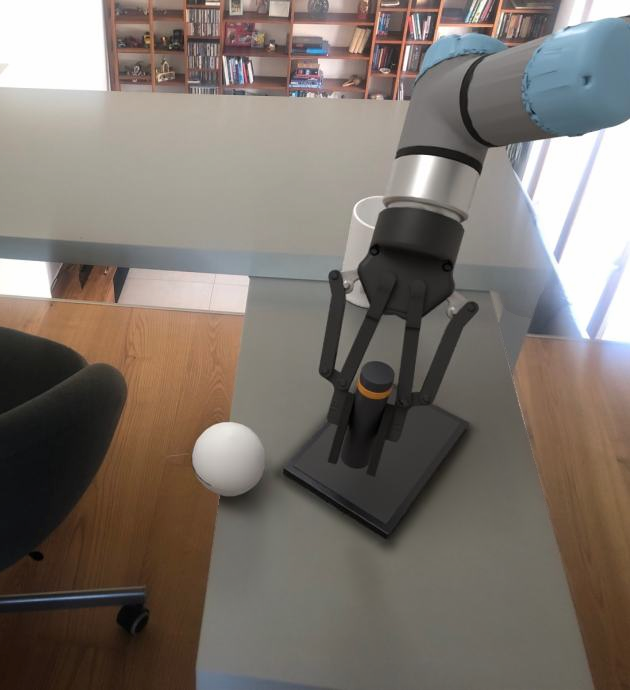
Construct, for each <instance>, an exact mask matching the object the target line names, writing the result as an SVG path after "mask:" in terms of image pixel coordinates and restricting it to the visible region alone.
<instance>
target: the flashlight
mask: <svg viewBox="0 0 630 690" xmlns="http://www.w3.org/2000/svg"><path fill="white" fill-rule="evenodd" d="M395 377H396V373H395V370H394V369H393V367H392V366H391V365H389V364H388V363H386V362H383V361H381V360H380V361H379V360H371V361H367V362H365V363H364V364H363V365H362V367H361V370H360V374H359V376H358V379H357V384H356V388H357V389H356V388H355V389H356V393H355V398H354V402H353V406H352V410H351V414H350V418H349V422H348V426H347V430H346V434H345V438H344V442H343V446H342V450H341V454H340V456H341V459H342V461H343V463H344V464H345V465H347V466H348V467H351V468H354V469H361V468H364V467H366V466H367V465H368V464H369V461H370V458H371V455H372V451H373V448H374V444H375V440H376V437H377V433H378V430H379V427H380V423H381V420H382V417H383V413H384V410H385V406H386V403H387V401H388V398H389V394H390V393H391V390H392V386H393V383H394V381H395Z"/></svg>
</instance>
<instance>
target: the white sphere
mask: <svg viewBox="0 0 630 690" xmlns="http://www.w3.org/2000/svg"><path fill="white" fill-rule="evenodd" d="M189 454H190V453H186V455H189ZM182 455H184V453H181V454H179V456H182ZM176 456H178V454H173V455H172V457H176ZM167 457H170V455H167V456H165V458H167ZM266 463H267V461H266V455H265V448H264V444H263V443H262V441H261V439H260V438H259V436H257V434H256V433H255V432H254V431H253V430H252V429H251V428H250V427H248V426H246V425H244V424H242V423H238V422H233V421H223V422H219V423H215V424H213V425H211V426H210V427H208V428H207V429H205V430H204V431H203V432H202V433H201V435H200V436H199V437H198V438H197V439H196V442H195V444H194V447H193V449H192V452H191V465H192V469H193V471H194V474H195V476H196V478H197V480H198V481H199V482H200V483H201V484H202V485H203V486H204V487H205V488H206V489H207V490H209V491H210V492H212V493H213V494H216V495H219V496H223V497H236V496H239V495H243V494H245V493H247V492H248V491H250V490H251V489H253V488H254V487H256V485H257V484H258V483H259V481H260V480H261V478H262V476H263V474H264V472H265V467H266Z"/></svg>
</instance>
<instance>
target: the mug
mask: <svg viewBox="0 0 630 690" xmlns="http://www.w3.org/2000/svg"><path fill="white" fill-rule="evenodd" d="M383 197H384V195H374V196H369V197H365V198H363V199H361V200H359V201H357V203H356V204H355V205H354V207H353V209H352V215H351V220H350V226H349V231H348V237H347V242H346V247H345V252H344V257H343V263H342V268H341V271H345V270H349V269H354V268H358V265H359V263H360V262H361V261H362V260H363V259H364V258H365V257H366V255H367V253H368V250H369V247H370V243H371V240H372V236H373V233H374V229H375V226H376V222H377V219H378V215H379V213H380V212H381V211H382V210H384V209H386V207H385V206H384V204H383V202H382V201H383ZM346 301H348V302H349V303H351V304H353V305H355V306H358V307H361V308H364V309H368V308H369V306H370V304H369V302H368V300H367V297H366V295H365V292H364V290H363V287H362V285H361V282H360V280H357V281H356V282H355V283H354V287H353V291H352V292H351V293H349V294H346Z"/></svg>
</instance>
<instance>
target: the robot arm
mask: <svg viewBox="0 0 630 690" xmlns="http://www.w3.org/2000/svg"><path fill="white" fill-rule="evenodd" d="M629 120H630V14H627V15H623V16H617V17H606V18H605V17H604V18H602V19H601V18H600V19H597V20H594V21H593V20H589V21H585V22H581V23H579V24H575V25H568V26H566V27H564V28H560V29H557V30H556V31H555V32H553V33H550V34H548V35H544V36H541V37H539V38H535V39H533V40H529V41H527V42H524V43H521V44H518V45H516V46H512V47H510V48H509V46H507V45H506V44H505V43H504V42H503V41H501V40H500V39H498V38H495V37H493V36H490V35H487V34H482V33H475V32H467V33H465V34H463V35H460V34H457V33H452V34H449V35H445V36H443V37H440V38H438V39H437V40H435V41H434V42H433V43H431V45H430V46H429V48H428V49H427V50H426V52H425V53H424V56H423V60H422V63H421V65H420V69H419V72H418V75H417V77H416V78H415V80H414V83H413V84H412V88H411V97H410V99H409V103H408V107H407V110H406V115H405V119H404V122H403V126H402V130H401V133H400V138H399V141H398V145H397V148H396V153H395V157H394V160H393V161H392V165H391V168H390V171H389V175H388V179H387V181H386V182H387V183H386V187H385V189H384V193H383V196H384V197H383V201H382V202H383V204H384V206H385V207H386V209H384V210H382V211H381V212H380V213H379V215H378V219H377V222H376V226H375V229H374V233H373V236H372V240H371V243H370V247H369V250H368V253H367V255H366V257H365V258H364V259H363V260H362V261H361V262H360V263H359V265H358V268H354V269H349V270H345V271H342V270H338V269H332V270H330V271H329V272H328V275H327V279H328V283H329V288H330V293H331V297H330V303H329V309H328V314H327V319H326V325H325V331H324V337H323V343H322V348H321V354H320V360H319V366H318V374H319V375H320V376H321V378H324V379H325V380H327V381H328V382H330V384H331V385H332V386H333V394H332V397H331V400H330V404H329V407H328V410H327V415H326V421H328V423H332V424H335V425H338V426H337V430H336V433H335V437H334V440H333V444H332V447H331V451H330V454H329V458H328V462H329V463H332V464H336V463H337V461H338V458H339V454H340V451H341V447H342V444H343V440H344V437H345V433H346V430H347V426H348V422H349V418H350V414H351V410H352V406H353V402H354V398H355V394H354V393H352V392H350V389H351V386H352V384H353V382H354V379H355V377H356V375H357V374H358V373H357V372H358V371H359V368H360V366H361V364H362V361H363V359H364V357H365V355H366V352H367V350H368V348H369V346H370V343H371V341H372V338H373V337H374V334H375V332H376V330H377V328H378V325H379V324H380V321H381V319H382V318H383V315H384V316H396V317H398V318H399V319H401V320H404V321H405V324H404V334H403V341H402V348H401V356H400V363H399V370H398V371H399V372H398V379H397V385H398V386H397V394H396V400H395V404H394V405H393V404H390V403H386V406H385V410H384V413H383V417H382V420H381V423H380V427H379V430H378V433H377V437H376V440H375V444H374V448H373V451H372V455H371V458H370V462H369V465H368V469H367V473H366V474H367V475H371V476H374V477H375V475H376V471H377V468H378V464H379V461H380V457H381V454H382V450H383V447H384V443H385V440H389V441H392V442H397V441H398V440H399V439H400V437H401V433H402V430H403V426H404V423H405V419H406V416H407V412H408V410H409V409H410V408H411V407H414V406H428V405H431V404H434V401H435V399H436V397H437V394H438V391H439V390H440V387H441V384H442V382H443V379H444V377H445V374H446V371H447V370H448V367H449V364H450V362H451V359H452V357H453V355H454V351H455V349H456V347H457V345H458V342H459V340H460V337H461V334H462V332H463V329H464V328H465V326H466V325H467V324H468V323H469V322H470V321H471V320H472V319H473V318H474V317H475V316H476V315H477V314H478V313H479V309H480V307H479V303H477V302H476V301H472V300H470V301H469V299H467V298H466V297H464V296H463V295H462V294H460V293H459V292H458V291H457V290H455V289H456V282H455V279H454V270H455V266H456V264H457V263H456V262H457V259H458V256H459V252H460V249H461V246H462V242H463V238H464V235H465V228H464V226H463V225H462V223H464V222H465V221H468V219H469V217H470V214H471V210H472V207H473V204H474V200H475V196H476V193H477V190H478V185H479V182H480V179H481V175H482V171H483V168H484V167H483V166H484V163H485V160H486V157H487V154H488V152H489V149H492V148H493V149H494V148H501V147H506V146H509V145H514V144H515V145H516V144H521V143H529V142H535V141H536V142H537V141H541V140H548V139H556V138H561V137H562V138H564V137H568V138H577V137H583V136H584V135H586V134H589V133H594V132H597V131H602V130H604V129H610V128H613V127H617V126H620V125H622V124H623V123H624V124H625V123H626V122H627V121H629ZM357 280H360V282H361V285H362V287H363V290H364V292H365V295H366V297H367V300H368V302H369V304H370V306H369V308H367V311H366V313H365V315H364V318H363V321H362V323H361V325H360V327H359V329H358V332H357V334H356V337H355V338H354V341H353V343H352V346H351V348H350V349H349V352H348V354H347V357H346V359H345V361H344V363H343V365H342V367H341V370H340V371H339V370H337V369H336V363H337V358H338V357H337V356H338V350H339V346H340V339H341V334H342V329H343V321H344V316H345V311H346V305H347V300H346V294H349V293H351V292H352V291H353V287H354V283H355V282H356V281H357ZM445 301H447V303H448V308H447V309H446V312H445V313H446V316H447V318H448V319H450V320H449V322H448V323H447V325H446V326H445V329H444V330H443V334H442V336H441V339H440V341H439V344H438V346H437V348H436V351H435V353H434V356H433V357H432V361H431V364H430V365H429V368H428V371H427V372H426V373H427V374H426V376H425V378H424V381H423V382H422V385H421V388H420V391H413V387H414V379H415V372H416V371H415V370H416V364H417V363H416V362H417V358H418V357H417V356H418V355H417V354H418V349H419V339H420V333H421V327H422V319H423V318H425V317H426V316H428V314H430V313H431V312H432V311H434V310H435V309H436V308H437V307H439V306H440V305H441V304H442V303H444V302H445Z"/></svg>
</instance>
